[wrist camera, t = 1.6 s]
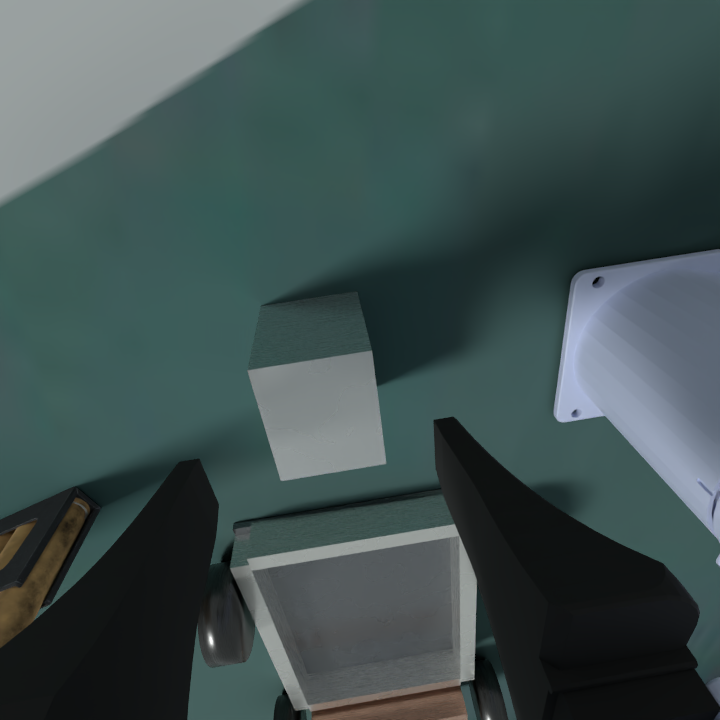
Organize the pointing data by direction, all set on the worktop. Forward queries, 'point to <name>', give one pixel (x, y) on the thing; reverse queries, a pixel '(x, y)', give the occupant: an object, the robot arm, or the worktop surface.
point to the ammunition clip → (39, 555)
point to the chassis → (355, 611)
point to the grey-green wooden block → (317, 386)
